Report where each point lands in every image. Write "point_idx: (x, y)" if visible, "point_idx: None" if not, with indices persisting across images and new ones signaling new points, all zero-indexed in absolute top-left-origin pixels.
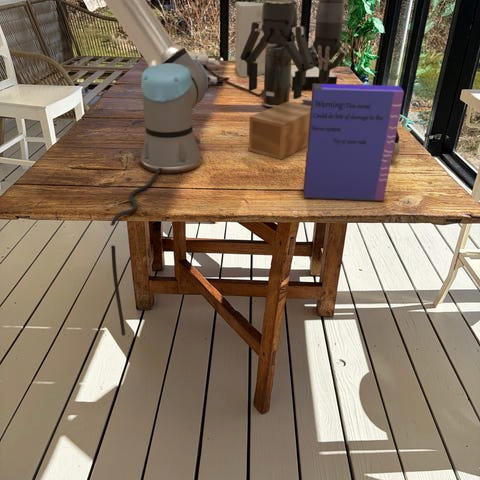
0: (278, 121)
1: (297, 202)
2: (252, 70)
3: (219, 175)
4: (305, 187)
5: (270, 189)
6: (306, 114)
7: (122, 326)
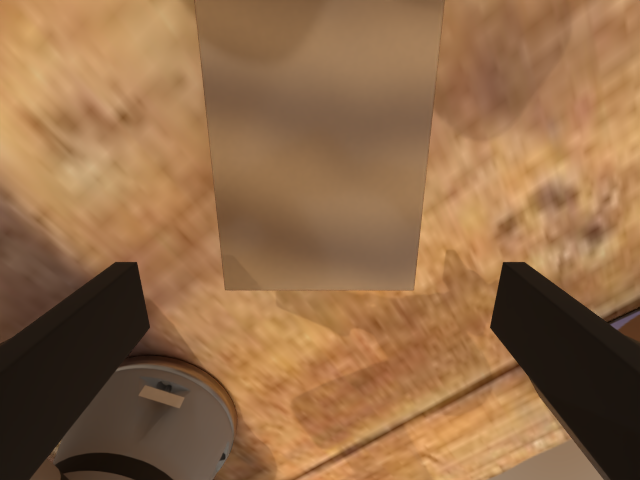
0: (373, 272)
1: (529, 412)
2: (49, 433)
3: (307, 404)
4: (555, 416)
5: (450, 397)
6: (437, 62)
7: None
